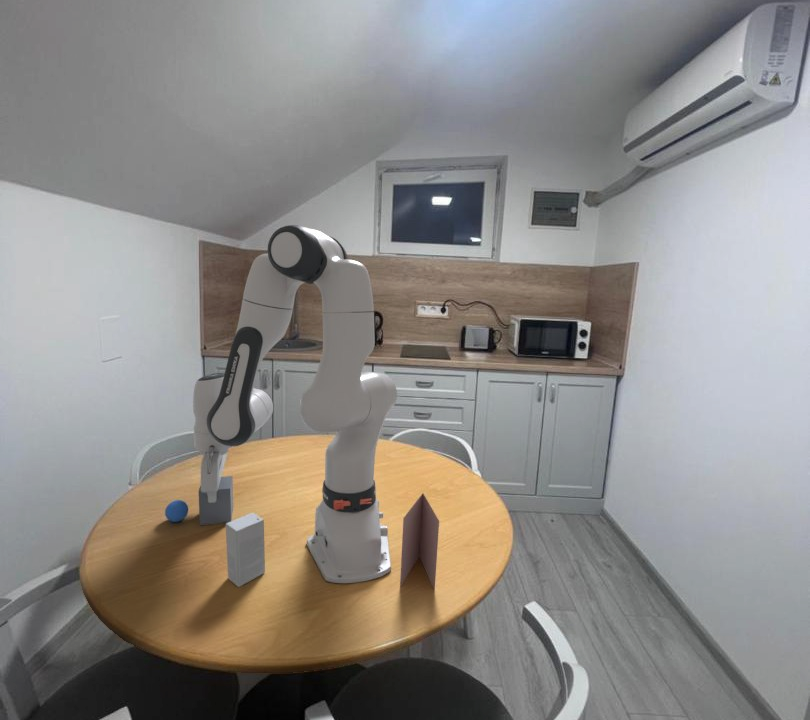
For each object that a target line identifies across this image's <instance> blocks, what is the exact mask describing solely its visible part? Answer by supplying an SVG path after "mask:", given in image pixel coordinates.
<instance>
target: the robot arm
mask: <svg viewBox="0 0 810 720" xmlns="http://www.w3.org/2000/svg"><path fill="white" fill-rule="evenodd" d="M303 284H308V285H312V284H313V285H314V284H315V286H317V288H318V289H319V292H320V295H321V309H322V311H321V312H322V313H321V315H322V350H321V351H322V352H321V357H320V361H319V365H318V366H317V367H318V368H317V370H316V373H315V374H314V375H315V376H314V377H313V379H312V381H311V382H310V384H309V385H308V387H307V388H306V389H305V390H304V392H303V393H302V394H301V396H300V400H299V415H300V417H301V420H302V422H303V423H304V424H305V426H306V427H307V428H308V429H309V430H310V431H312V432H314V433H316V434H320V433H321V434H323V433H325V434H326V433H327V434H329V433H335V435H334V437H333V438H332V439H331V441H330V442H329V444H328V445H327V448H326V449H325V453H324V454H325V455H324V456H325V460H324V461H325V463H324V465H325V466H324V468H325V469H324V480H323V483H322V488H321V493H322V501H321V502H320V503H319V504H318V505H317V506H316V508H315V516H314V518H315V519H314V533H313V534H311V535H309V536H308V537H307V539H306V545H307V547H308V549H309V551H310V554H311V555H312V557H313V559H314V561H315V563H316V565H317V567H318V569H319V571H320V573H321V575H322V576H323V579H324V581H326V582H329V583H335V584H353V583H360V582H367V581H370V580H375V579H378V578H380V577H383V576H384V575H387V574H388V573H390V572H391V570H392V564H391V555H390V547H389V546H390V545H389V539H388V537H389V536H388V533H389V531H388V525H383V524H382V523H380V521H381V520H380V519H384V512H383V511H379V510H380V500H378V499H377V496H376V495H377V492H376V491H377V488H376V482H375V479H374V476H375V475H374V474H375V461H376V451H377V445H378V441H379V439H380V435H381V431H382V429H383V426H384V423H385V421H386V419H387V416H388V415H389V414H390V411H391V410H392V409H393V408H394V406H395V405H396V402H397V400H398V399H397V398H398V390H397V386H396V384H395V382H394V380H393V379H392V378H391V377H390V376H389V375H387V374H386V373H383V372H376V371H364V372H363V370H364V369H363V368H364V365H365V363H366V361H367V359H368V358H369V356H370V355H371V354H372V353H373V351H374V349H375V344H376V340H375V339H376V337H375V308H374V295H373V290H372V289H373V288H372V284H371V279H370V275H369V271H368V268H367V267H366V266H365V265H364V264H363V263H362V262H359V261H357V260H353V259H349V258H348V254H347V251H346V250H345V247H344V246H343V244H342V243H340V241H338V239H336V238H334V237H332V236H330V235H327V234H325V233H324V232H322V231H320V230H317V229H314V228H310V227H305V226H303V225H299V224H290V225H289V224H288V225H285V226H281V227H280V228H278V229H277V230H275V231H274V232H273V233H272V235H271V236H270V237H269V240H268V243H267V253H262V254H260V255H258V256H256V257H255V259H253V262H252V264H251V267H250V269H249V271H248V275H247V279H246V281H245V285H244V286H245V287H244V291H243V296H242V300H241V307H240V312H239V313H240V314H239V316H238V317H239V318H238V322H237V327H236V330H235V334H234V337H233V340H232V341H233V342H232V344H231V347H230V351H229V354H228V358H227V364H226V367H225V370H224V372H217V373H216V372H215V373H212V374H207V375H204V376H202V377H200V378H198V379H196V380H197V381H195V384H194V388H193V389H194V390H193V401H192V403H193V405H192V409H193V415H194V418H195V419H194V420H195V422H194V425H193V446H194V449H195V450H197V451H198V452H199V453H200V455H201V456H202V458H201V462H200V485H201V491H202V492H207V495H208V502H209V503H213V502H216V500H217V491H218V488H219V484H220V480H221V477H223V471H224V468H225V464H226V460H227V456H228V452H229V449H231V448H232V447H238V446H242V445H244V444H245V443H246V442H248V441H249V439H250V438H251V437H252V436H253V434H254V433H255V432H257V431H259V429H260V428H262V426H264V425H265V424H266V423H267V422H268V421H269V420H270V419H271V418H272V416H273V414H274V408H275V406H274V401H273V399H272V397H271V396H270V395H269V393H268V392H266V391H265V390H263V389H261V388H257V387H256V388H255V384H256V383H255V382H256V379H257V375H258V372H259V371H258V370H259V367H260V365H261V362H262V361H263V359H264V358H265V356H266V355H267V354H268V353H269V351H271V349H272V348H273V347H274V346H275V345H277V343H279V341H281V340H282V339H283V338H284V337H285V335H286V333H287V330H288V328H289V326H290V323H291V319H292V315H293V310H294V305H295V298H296V295H297V294H296V293H297V290H298V289H299V287H300V286H301V285H303Z"/></svg>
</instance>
